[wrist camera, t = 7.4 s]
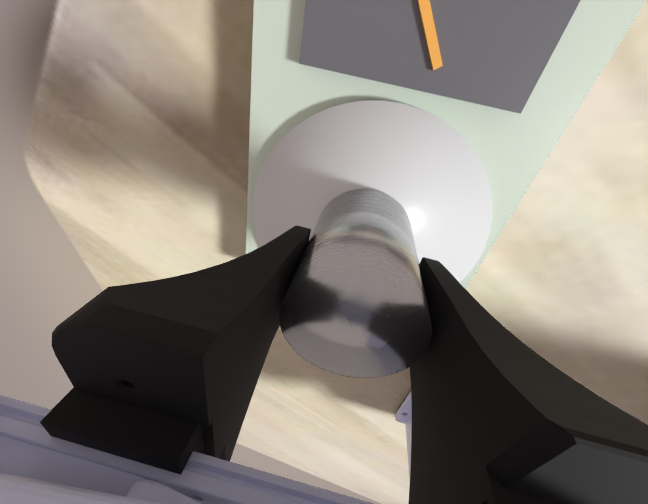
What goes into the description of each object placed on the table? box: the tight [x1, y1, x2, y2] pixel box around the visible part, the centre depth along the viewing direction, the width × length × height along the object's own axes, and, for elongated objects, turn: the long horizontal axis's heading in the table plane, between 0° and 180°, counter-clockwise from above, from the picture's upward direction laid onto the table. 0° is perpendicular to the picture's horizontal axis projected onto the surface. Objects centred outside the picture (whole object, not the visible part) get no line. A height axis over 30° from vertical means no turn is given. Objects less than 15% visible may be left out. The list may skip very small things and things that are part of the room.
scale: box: [246, 0, 647, 289], centre depth 13 cm, size 16×12×3 cm
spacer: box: [279, 189, 432, 378], centre depth 11 cm, size 4×4×6 cm
